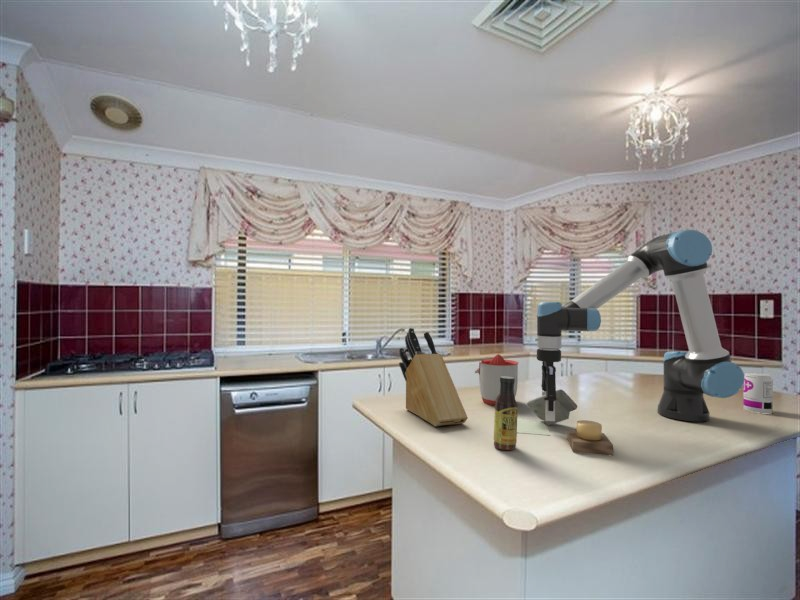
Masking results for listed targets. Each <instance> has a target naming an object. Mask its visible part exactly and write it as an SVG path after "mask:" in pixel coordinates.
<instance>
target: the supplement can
mask: <svg viewBox="0 0 800 600" xmlns="http://www.w3.org/2000/svg"><path fill="white" fill-rule="evenodd" d="M773 381H774V379H773V377H772V376H771V374H768V373H760V372H746V373H744V384H743V386H742V388H743V391H742V392H743V401H742V403H743V404H742V406H743V409H745V410H748V411H753V412H760V413H772V412H773V413H774V410H773V409H774V408H773V406H774V404H773V402H774V401H773V400H774V399H773V398H774V382H773ZM745 410H744V411H745Z"/></svg>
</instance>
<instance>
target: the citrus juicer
mask: <svg viewBox="0 0 800 600" xmlns="http://www.w3.org/2000/svg"><path fill="white" fill-rule="evenodd" d="M518 366H519V362H518V361H515V360H511V359H510V360H509V359H504V358H503V356H502V355H501V354H499V353H498V354H496V355H495V356H494V357H493V358H487V359H486V358H484V359H481V361H479V365H478V368H477V369H475V371H474V374H478V376H479V377H478V378H479V381H478V382H479V383H478V384H479V391H480V395H481V399H482V402H483V403H484V404H486V405H489V406H494V407H495V402H496V399H497V397H498V395H499V394H500V377H501V376H509V377H514V378H515V382H514V397H515V398H516V396H517V391H518V381H519V380H518V379H519V378H518V375H519V371H518Z"/></svg>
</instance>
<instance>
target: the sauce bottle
mask: <svg viewBox="0 0 800 600" xmlns="http://www.w3.org/2000/svg"><path fill="white" fill-rule="evenodd" d="M514 382H515V378H514V377H509V376H501V377H500V394H499V395H498V397H497V399H496V402H495V406H494V407H495V408H494V421H493V422H494V423H493V424H494V425H493V445H494V447H495V448H497V449H498V450H502V451H513V450H515V449H516V447H517V441H518V440H517V437H518V435H517V434H518V433H517V418H518V404H517V401H516V396H515V397H514Z"/></svg>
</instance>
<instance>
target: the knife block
mask: <svg viewBox="0 0 800 600" xmlns="http://www.w3.org/2000/svg"><path fill="white" fill-rule="evenodd" d="M423 337H424V339H425V341H426V343H427V346H428V348H429V350H430V352H431V353H425V352H422V348H421V346H420V342H419V339H418V337H417V334H416V333H415V328H413V327H409V328H408V332H407V333H406V335H405V336H404V343H405V346H406V349H404V348H403V347H400V348H399V349H398V350H399V351H398V354H399V357H400V359H401V362H399V363H398V365H399V368H400V370H401V373H402V375H403V376H402V377H403V378H404V380H405V409H406V410H407V411H409V412H411V413H413V414H415V415H417V416H418V417H420V418H421V419H423V420H424V421H426V422H428V423H430V424H431V425H432V426H433V427H440V426H449V425H460V424H464V423H465V422H466V421H467V420H468V415H467V413H466V410H465V408H464V406H463V403H462V401H461V399H460V395H459V392H458V391H457V389H456V386H455V383H454V381H453V379H452V376H451V375H450V372H449V369H448V368H447V367H448V366H447V365H446V363H445V362H446V361H445V359H444V358H443V356H442V354H441V353H438V352H437V351H436V347H435V343H434V340H433V338H432V336H431V334H430V332H428V331H426V332H424V333H423ZM406 353H409V356H410V357H411V358H408V356H407V354H406Z"/></svg>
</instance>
